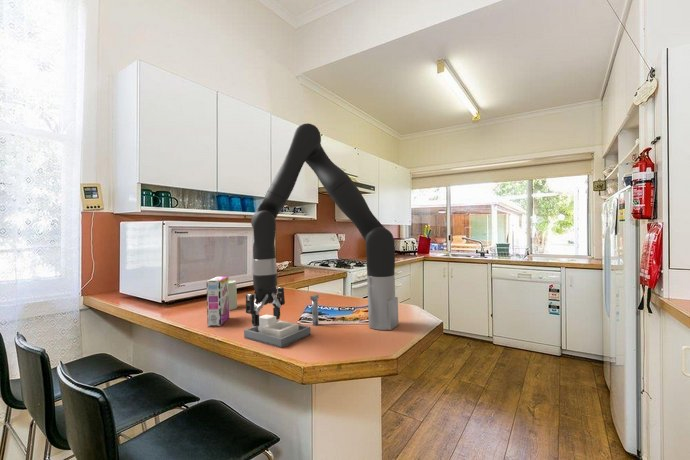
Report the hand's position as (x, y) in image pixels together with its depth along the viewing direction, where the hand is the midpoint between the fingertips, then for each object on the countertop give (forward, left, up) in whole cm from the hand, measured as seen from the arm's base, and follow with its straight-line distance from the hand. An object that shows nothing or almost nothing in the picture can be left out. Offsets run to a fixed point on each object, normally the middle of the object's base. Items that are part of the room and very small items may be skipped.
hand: (266, 322), depth 102 cm
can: (+42, -14, -4) cm, 45 cm away
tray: (-5, 0, -4) cm, 6 cm away
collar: (-4, 0, -3) cm, 5 cm away
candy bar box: (+26, 0, -4) cm, 26 cm away
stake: (-8, -15, -4) cm, 17 cm away
